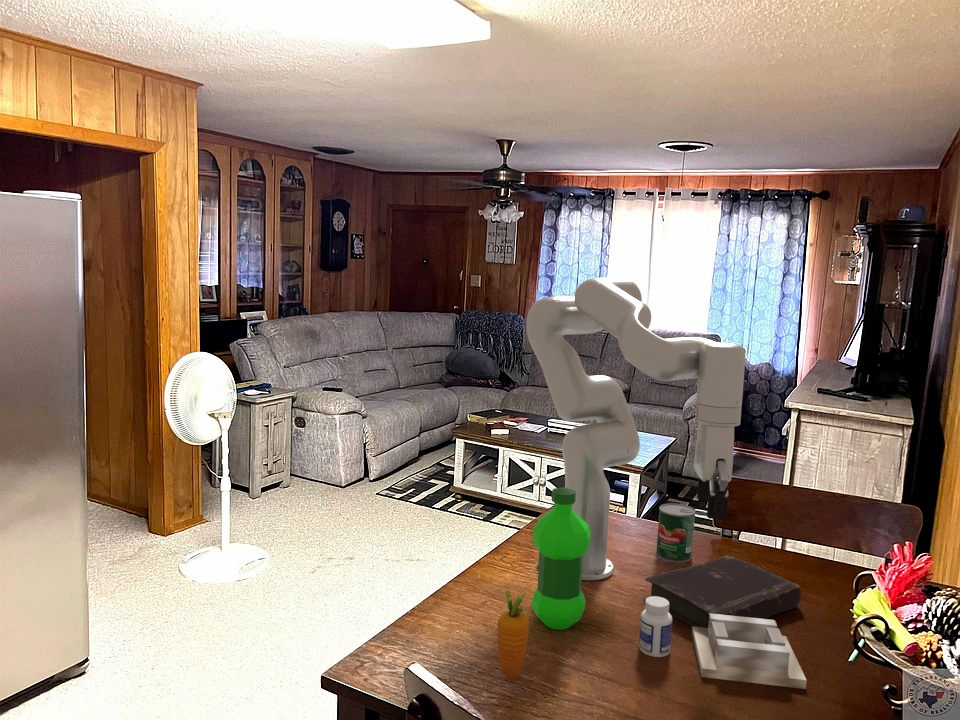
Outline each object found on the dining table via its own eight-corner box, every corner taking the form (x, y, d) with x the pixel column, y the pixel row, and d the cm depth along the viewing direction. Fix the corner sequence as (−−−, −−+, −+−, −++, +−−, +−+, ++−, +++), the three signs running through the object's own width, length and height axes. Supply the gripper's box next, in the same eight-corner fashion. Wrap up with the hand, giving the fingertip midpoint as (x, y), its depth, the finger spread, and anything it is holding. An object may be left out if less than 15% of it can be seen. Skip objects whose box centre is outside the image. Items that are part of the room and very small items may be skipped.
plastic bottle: (589, 614, 141) (596, 486, 138) (579, 641, 131) (586, 504, 128) (537, 605, 144) (543, 479, 141) (524, 631, 134) (529, 496, 131)
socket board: (701, 676, 121) (703, 648, 121) (691, 634, 135) (693, 607, 134) (805, 689, 119) (808, 659, 118) (785, 644, 132) (787, 617, 132)
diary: (801, 609, 146) (803, 585, 146) (718, 643, 132) (720, 616, 131) (722, 573, 161) (724, 551, 161) (640, 600, 147) (642, 576, 147)
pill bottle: (667, 643, 132) (671, 595, 130) (672, 659, 126) (676, 609, 125) (637, 640, 132) (640, 593, 131) (640, 656, 127) (643, 607, 126)
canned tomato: (656, 560, 167) (659, 513, 166) (656, 547, 175) (659, 501, 173) (692, 564, 165) (696, 516, 164) (691, 551, 173) (694, 505, 171)
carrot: (493, 673, 120) (497, 585, 118) (524, 673, 121) (528, 585, 119) (497, 691, 116) (500, 599, 113) (529, 691, 116) (533, 599, 114)
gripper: (688, 403, 139) (682, 492, 141) (704, 423, 122) (697, 524, 124) (729, 405, 138) (723, 495, 141) (752, 426, 121) (744, 527, 124)
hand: (711, 508), depth 133 cm, fingers open, 9 cm apart
